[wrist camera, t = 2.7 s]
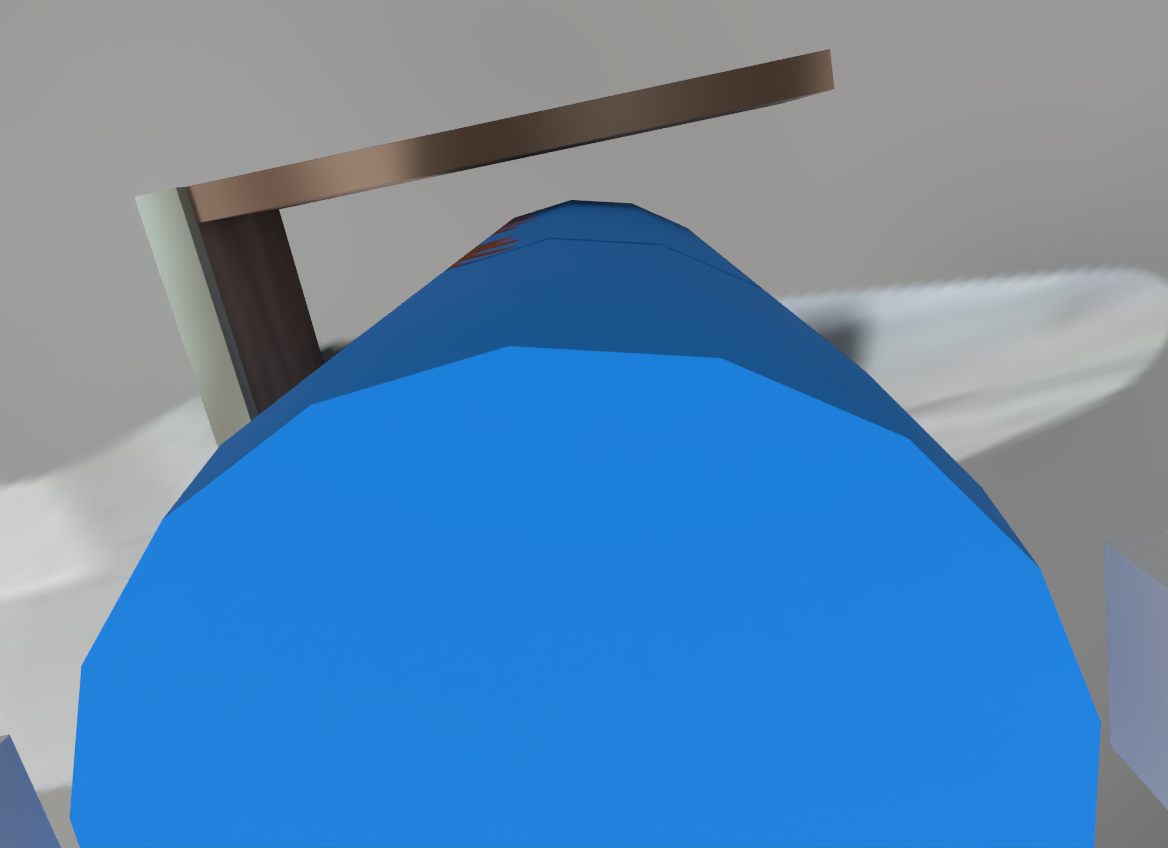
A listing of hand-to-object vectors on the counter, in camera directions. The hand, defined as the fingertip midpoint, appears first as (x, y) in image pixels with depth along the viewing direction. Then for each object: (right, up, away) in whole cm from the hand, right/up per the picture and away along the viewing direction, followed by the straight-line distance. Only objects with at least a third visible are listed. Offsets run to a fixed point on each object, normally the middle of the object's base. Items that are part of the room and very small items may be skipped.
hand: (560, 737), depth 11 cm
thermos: (+1, +7, +23) cm, 24 cm away
